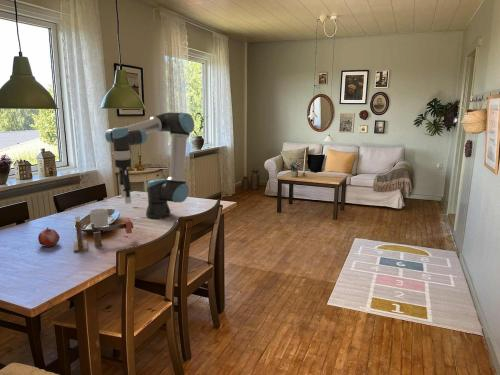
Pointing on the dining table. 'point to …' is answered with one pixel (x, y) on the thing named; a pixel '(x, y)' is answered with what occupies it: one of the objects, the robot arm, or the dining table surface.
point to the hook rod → (115, 227)
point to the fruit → (48, 237)
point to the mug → (99, 217)
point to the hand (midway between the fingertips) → (126, 199)
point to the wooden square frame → (79, 238)
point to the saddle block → (97, 239)
